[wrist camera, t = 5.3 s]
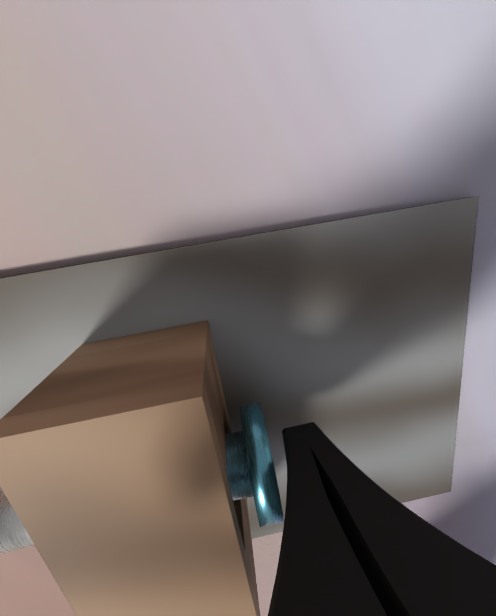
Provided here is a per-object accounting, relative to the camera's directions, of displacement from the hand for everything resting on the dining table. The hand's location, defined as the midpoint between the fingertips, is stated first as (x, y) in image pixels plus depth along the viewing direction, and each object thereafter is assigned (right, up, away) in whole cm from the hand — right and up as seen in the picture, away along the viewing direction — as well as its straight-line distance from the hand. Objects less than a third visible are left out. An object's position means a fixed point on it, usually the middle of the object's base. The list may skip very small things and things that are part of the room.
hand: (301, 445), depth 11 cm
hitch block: (-2, 0, +2) cm, 3 cm away
